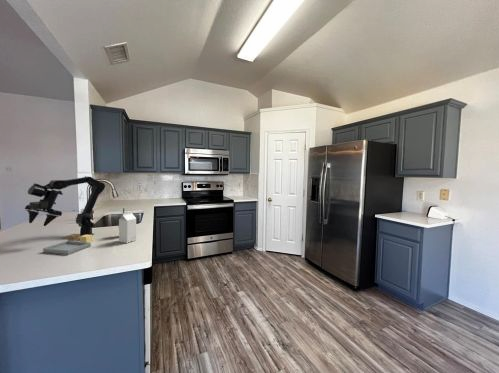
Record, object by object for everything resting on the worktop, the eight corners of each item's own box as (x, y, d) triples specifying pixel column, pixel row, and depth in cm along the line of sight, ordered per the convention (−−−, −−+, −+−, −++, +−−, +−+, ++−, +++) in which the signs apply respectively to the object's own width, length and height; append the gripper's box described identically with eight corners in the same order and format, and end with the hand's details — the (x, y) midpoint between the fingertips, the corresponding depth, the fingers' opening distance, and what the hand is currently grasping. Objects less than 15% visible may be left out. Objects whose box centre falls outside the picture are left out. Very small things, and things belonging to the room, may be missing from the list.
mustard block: (86, 241, 141) (86, 234, 141) (92, 241, 140) (92, 234, 140) (80, 243, 136) (79, 236, 136) (86, 243, 136) (86, 236, 136)
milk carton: (136, 240, 145) (136, 212, 144) (127, 243, 139) (127, 214, 137) (128, 239, 148) (128, 211, 146) (118, 242, 141) (118, 213, 140)
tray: (67, 244, 133) (67, 240, 133) (90, 246, 131) (90, 242, 131) (43, 252, 120) (43, 248, 119) (68, 255, 117) (68, 250, 117)
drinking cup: (124, 238, 149) (124, 209, 148) (114, 237, 150) (114, 208, 149) (132, 235, 156) (132, 207, 155) (123, 234, 158) (123, 207, 157)
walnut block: (74, 240, 142) (74, 233, 142) (80, 240, 142) (80, 234, 141) (67, 242, 138) (67, 235, 137) (73, 242, 137) (73, 235, 137)
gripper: (22, 193, 126) (8, 219, 121) (52, 198, 125) (39, 225, 120) (39, 197, 136) (27, 222, 132) (67, 203, 135) (56, 228, 131)
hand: (37, 224), depth 128 cm, fingers open, 9 cm apart
